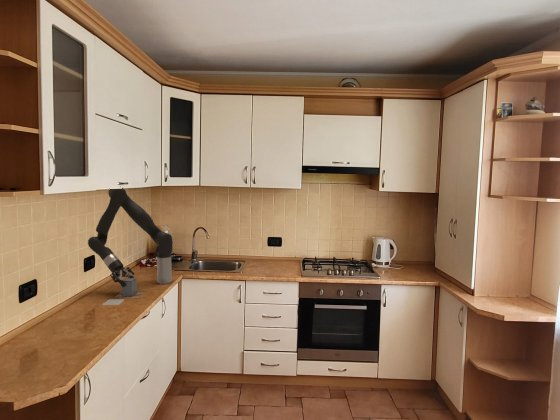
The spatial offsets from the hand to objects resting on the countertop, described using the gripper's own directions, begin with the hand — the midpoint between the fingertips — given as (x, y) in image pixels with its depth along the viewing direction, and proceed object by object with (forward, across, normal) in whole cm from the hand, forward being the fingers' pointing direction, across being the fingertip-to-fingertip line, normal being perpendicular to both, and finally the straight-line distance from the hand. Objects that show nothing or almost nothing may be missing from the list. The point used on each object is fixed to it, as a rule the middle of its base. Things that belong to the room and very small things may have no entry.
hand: (129, 284), depth 221 cm
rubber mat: (+5, -14, +5) cm, 15 cm away
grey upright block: (+4, 0, +5) cm, 6 cm away
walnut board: (+5, 0, +6) cm, 7 cm away
